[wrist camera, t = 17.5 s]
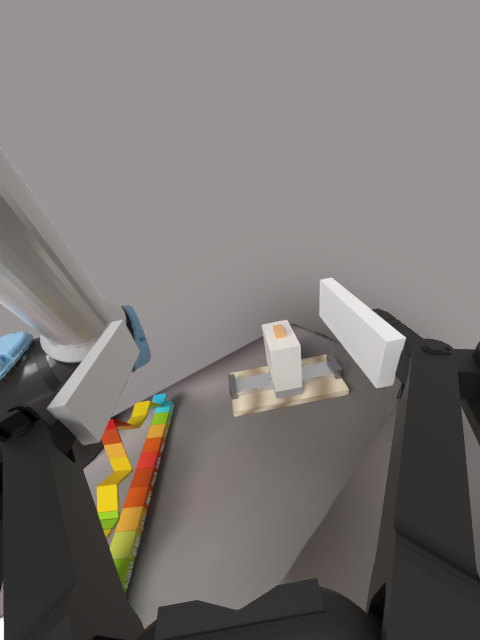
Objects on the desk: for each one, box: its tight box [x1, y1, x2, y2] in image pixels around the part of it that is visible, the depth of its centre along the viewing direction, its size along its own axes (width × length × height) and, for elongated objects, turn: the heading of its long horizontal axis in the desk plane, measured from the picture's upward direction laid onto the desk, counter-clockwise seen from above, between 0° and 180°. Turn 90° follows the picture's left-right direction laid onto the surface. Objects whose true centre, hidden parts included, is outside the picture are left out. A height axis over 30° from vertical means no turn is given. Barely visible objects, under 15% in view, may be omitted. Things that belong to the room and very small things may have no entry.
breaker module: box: [262, 320, 302, 399], centre depth 42 cm, size 5×8×13 cm, turn 6°
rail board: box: [230, 355, 349, 417], centre depth 46 cm, size 22×10×2 cm, turn 96°
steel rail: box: [229, 355, 343, 400], centre depth 45 cm, size 22×4×2 cm, turn 96°
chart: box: [97, 394, 174, 595], centre depth 31 cm, size 30×3×15 cm, turn 2°
